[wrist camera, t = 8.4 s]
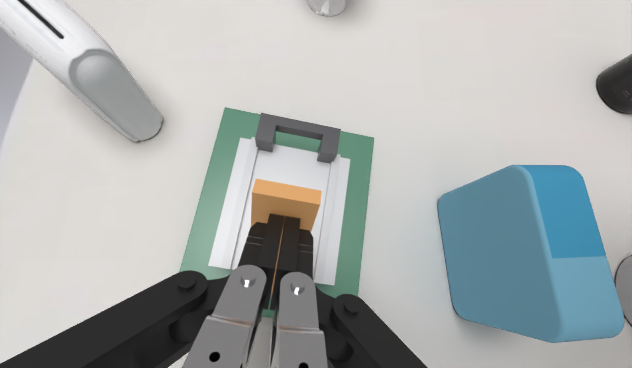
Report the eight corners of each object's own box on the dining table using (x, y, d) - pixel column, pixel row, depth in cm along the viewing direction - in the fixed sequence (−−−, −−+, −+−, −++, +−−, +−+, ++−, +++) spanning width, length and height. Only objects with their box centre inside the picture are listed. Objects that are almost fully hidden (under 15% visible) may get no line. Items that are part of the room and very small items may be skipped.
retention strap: (287, 303, 22) (319, 208, 13) (247, 297, 22) (250, 195, 13) (289, 288, 23) (321, 187, 14) (251, 282, 23) (256, 175, 13)
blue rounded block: (494, 314, 29) (634, 343, 18) (453, 317, 29) (570, 349, 17) (473, 196, 33) (579, 158, 21) (434, 197, 32) (523, 158, 21)
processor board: (351, 327, 27) (375, 345, 21) (174, 301, 26) (141, 312, 19) (371, 141, 33) (395, 110, 26) (226, 112, 31) (213, 71, 25)
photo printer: (66, 85, 30) (-69, -33, 18) (102, 60, 31) (-2, -66, 19) (138, 151, 29) (45, 71, 17) (172, 122, 30) (107, 30, 19)
